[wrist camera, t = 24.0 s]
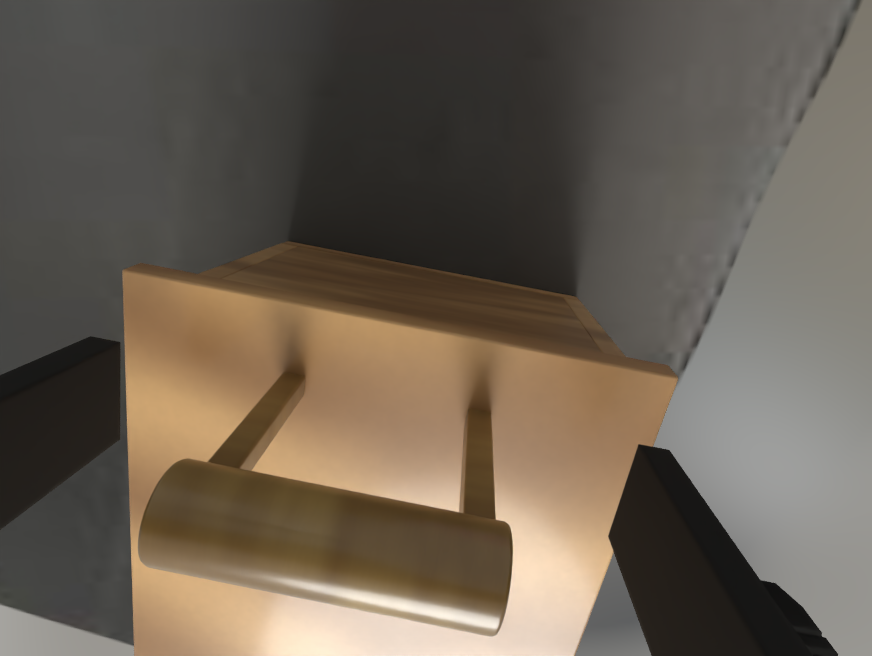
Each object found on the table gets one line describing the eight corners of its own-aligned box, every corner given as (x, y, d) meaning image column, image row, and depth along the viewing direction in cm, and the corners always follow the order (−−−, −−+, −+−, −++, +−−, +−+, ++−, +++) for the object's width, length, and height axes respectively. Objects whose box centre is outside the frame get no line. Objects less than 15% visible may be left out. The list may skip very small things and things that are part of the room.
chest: (286, 240, 28) (160, 286, 17) (577, 296, 28) (647, 381, 17) (259, 517, 33) (149, 696, 22) (504, 567, 33) (520, 772, 22)
